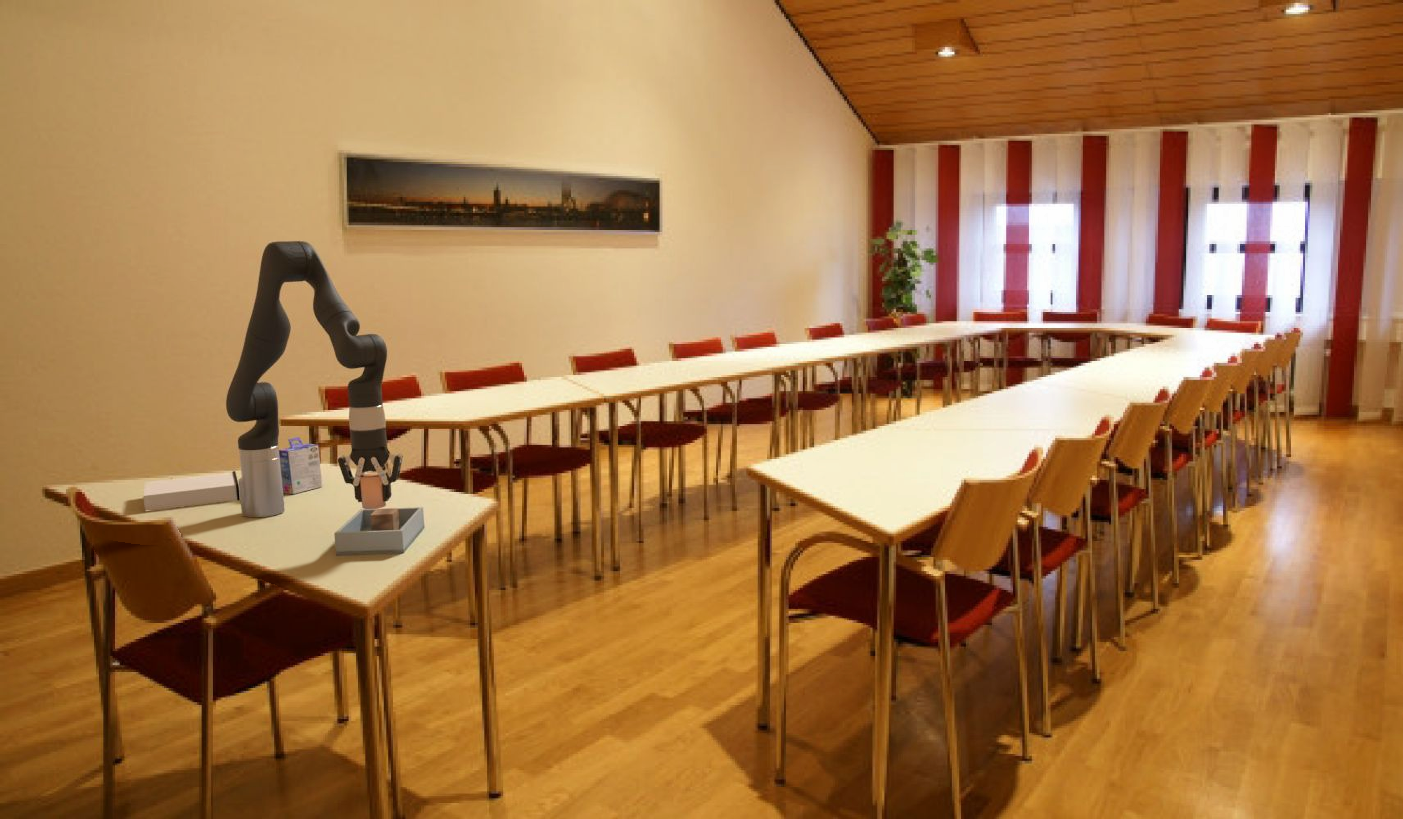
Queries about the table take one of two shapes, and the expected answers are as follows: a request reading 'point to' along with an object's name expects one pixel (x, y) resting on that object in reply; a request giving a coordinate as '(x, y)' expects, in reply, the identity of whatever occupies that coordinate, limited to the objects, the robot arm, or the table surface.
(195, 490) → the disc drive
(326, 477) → the table surface
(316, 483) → the ink cartridge box
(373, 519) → the cube
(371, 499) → the orange round part
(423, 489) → the table surface
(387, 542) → the tote
